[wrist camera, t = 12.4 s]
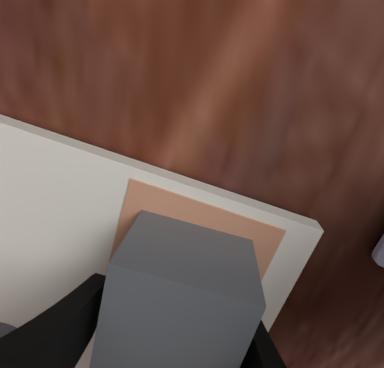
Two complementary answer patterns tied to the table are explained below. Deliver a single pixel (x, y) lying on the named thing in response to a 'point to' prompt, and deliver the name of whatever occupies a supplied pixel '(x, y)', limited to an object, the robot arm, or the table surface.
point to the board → (115, 221)
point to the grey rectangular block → (178, 298)
